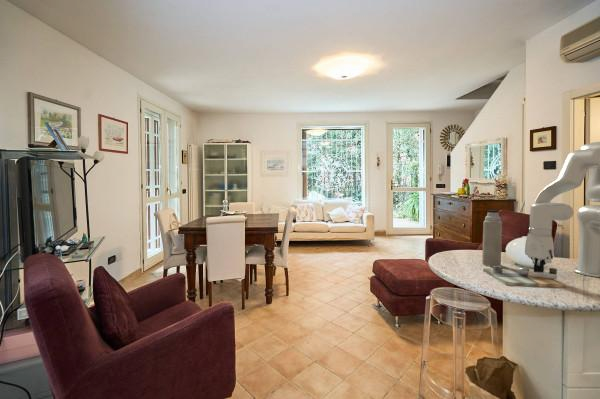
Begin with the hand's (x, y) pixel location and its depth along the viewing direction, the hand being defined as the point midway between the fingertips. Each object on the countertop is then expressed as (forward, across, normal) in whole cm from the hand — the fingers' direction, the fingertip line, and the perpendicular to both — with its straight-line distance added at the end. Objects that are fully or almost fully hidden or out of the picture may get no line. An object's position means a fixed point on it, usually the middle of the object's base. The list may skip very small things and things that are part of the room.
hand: (538, 273), depth 130 cm
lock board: (+2, -1, -8) cm, 8 cm away
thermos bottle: (+2, -23, -5) cm, 23 cm away
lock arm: (+1, +2, -2) cm, 3 cm away
